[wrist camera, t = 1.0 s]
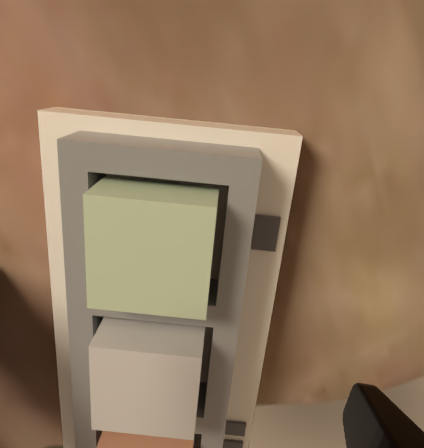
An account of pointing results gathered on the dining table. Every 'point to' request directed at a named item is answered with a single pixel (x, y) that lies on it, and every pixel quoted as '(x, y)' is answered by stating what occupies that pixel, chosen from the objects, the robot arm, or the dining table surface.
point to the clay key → (140, 441)
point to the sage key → (149, 247)
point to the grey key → (145, 377)
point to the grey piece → (221, 259)
